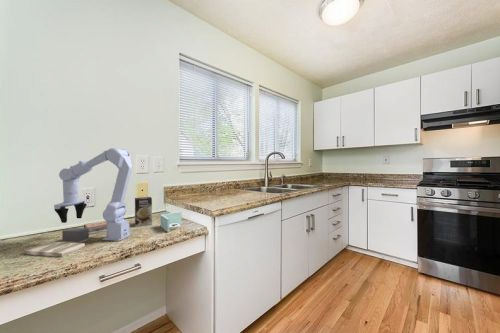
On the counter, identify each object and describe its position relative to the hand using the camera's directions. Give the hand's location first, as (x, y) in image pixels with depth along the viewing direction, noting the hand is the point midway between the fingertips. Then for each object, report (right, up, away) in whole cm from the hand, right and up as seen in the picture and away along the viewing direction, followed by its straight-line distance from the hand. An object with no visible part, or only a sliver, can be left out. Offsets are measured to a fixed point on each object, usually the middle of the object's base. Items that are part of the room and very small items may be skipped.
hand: (71, 220), depth 106 cm
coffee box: (+24, -8, +22) cm, 34 cm away
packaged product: (+6, -9, +13) cm, 17 cm away
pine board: (+5, -9, -14) cm, 18 cm away
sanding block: (+4, -9, -3) cm, 11 cm away
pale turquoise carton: (+45, -9, +17) cm, 49 cm away
